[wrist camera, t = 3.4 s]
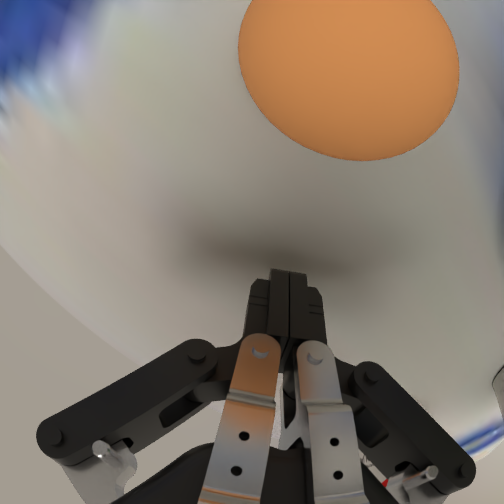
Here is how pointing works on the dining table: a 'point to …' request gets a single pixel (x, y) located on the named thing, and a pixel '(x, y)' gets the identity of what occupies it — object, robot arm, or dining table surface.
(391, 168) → the dining table surface
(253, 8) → the ball
